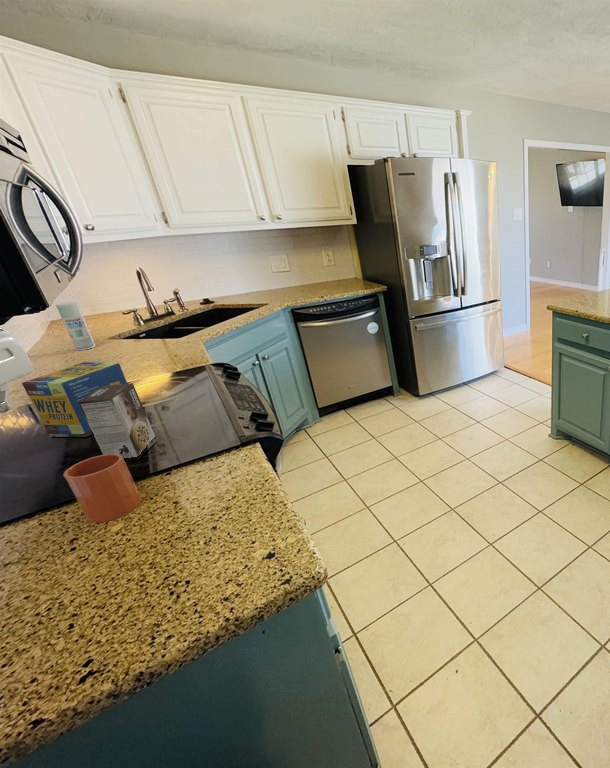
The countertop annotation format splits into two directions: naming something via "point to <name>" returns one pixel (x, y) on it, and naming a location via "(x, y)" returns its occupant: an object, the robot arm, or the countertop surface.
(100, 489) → the cup
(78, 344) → the spray can
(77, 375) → the protein box
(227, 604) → the countertop surface
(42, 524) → the countertop surface
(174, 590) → the countertop surface
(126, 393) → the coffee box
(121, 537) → the countertop surface
